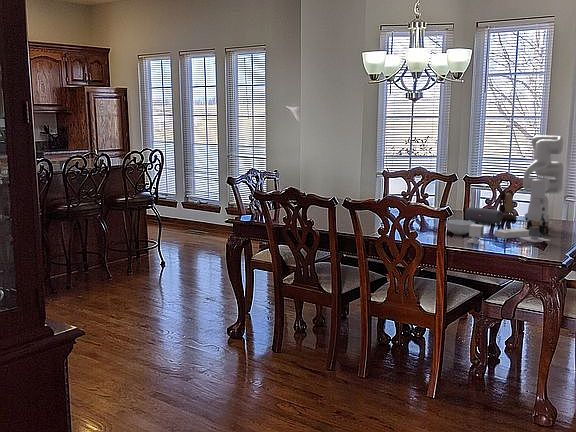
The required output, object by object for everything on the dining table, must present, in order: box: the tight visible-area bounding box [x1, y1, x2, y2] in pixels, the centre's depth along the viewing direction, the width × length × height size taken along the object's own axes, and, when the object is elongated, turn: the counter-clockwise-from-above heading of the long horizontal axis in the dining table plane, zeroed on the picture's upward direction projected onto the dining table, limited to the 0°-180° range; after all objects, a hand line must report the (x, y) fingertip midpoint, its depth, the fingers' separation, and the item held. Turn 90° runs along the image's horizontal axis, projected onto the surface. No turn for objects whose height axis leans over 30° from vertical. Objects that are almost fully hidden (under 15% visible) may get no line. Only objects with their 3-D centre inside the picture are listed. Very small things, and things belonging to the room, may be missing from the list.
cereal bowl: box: [445, 219, 476, 236], centre depth 356 cm, size 17×17×7 cm
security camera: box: [466, 223, 485, 245], centre depth 328 cm, size 6×7×10 cm
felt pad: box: [518, 236, 552, 243], centre depth 338 cm, size 12×12×1 cm
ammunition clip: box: [531, 214, 550, 236], centre depth 356 cm, size 11×2×12 cm, turn 68°
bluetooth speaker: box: [464, 206, 504, 225], centre depth 393 cm, size 23×9×10 cm, turn 42°
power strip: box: [494, 227, 531, 239], centre depth 349 cm, size 24×8×4 cm, turn 111°
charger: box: [529, 226, 542, 239], centre depth 338 cm, size 5×4×7 cm
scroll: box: [498, 190, 518, 222], centre depth 408 cm, size 15×15×20 cm
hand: (535, 231), depth 337 cm, fingers open, 9 cm apart
